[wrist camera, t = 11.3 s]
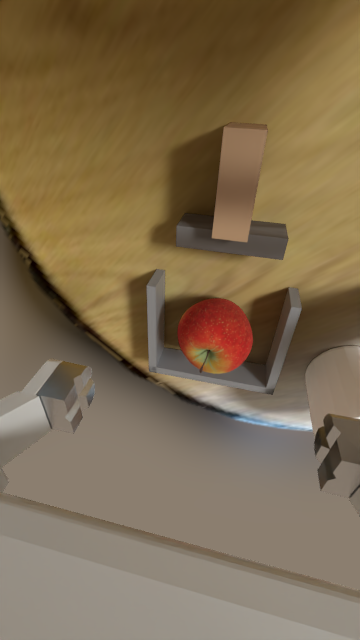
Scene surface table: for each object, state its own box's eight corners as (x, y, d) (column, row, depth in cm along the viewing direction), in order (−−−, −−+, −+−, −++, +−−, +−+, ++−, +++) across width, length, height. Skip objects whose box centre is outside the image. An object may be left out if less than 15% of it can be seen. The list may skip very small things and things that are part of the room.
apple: (263, 328, 37) (264, 390, 29) (204, 344, 41) (190, 403, 33) (237, 273, 34) (230, 326, 26) (175, 296, 37) (152, 349, 29)
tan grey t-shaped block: (190, 119, 26) (174, 123, 22) (309, 127, 25) (321, 133, 20) (184, 232, 32) (171, 254, 27) (280, 243, 31) (284, 269, 26)
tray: (156, 269, 35) (146, 285, 32) (298, 288, 33) (301, 308, 30) (157, 351, 43) (149, 371, 40) (271, 372, 41) (272, 394, 38)
